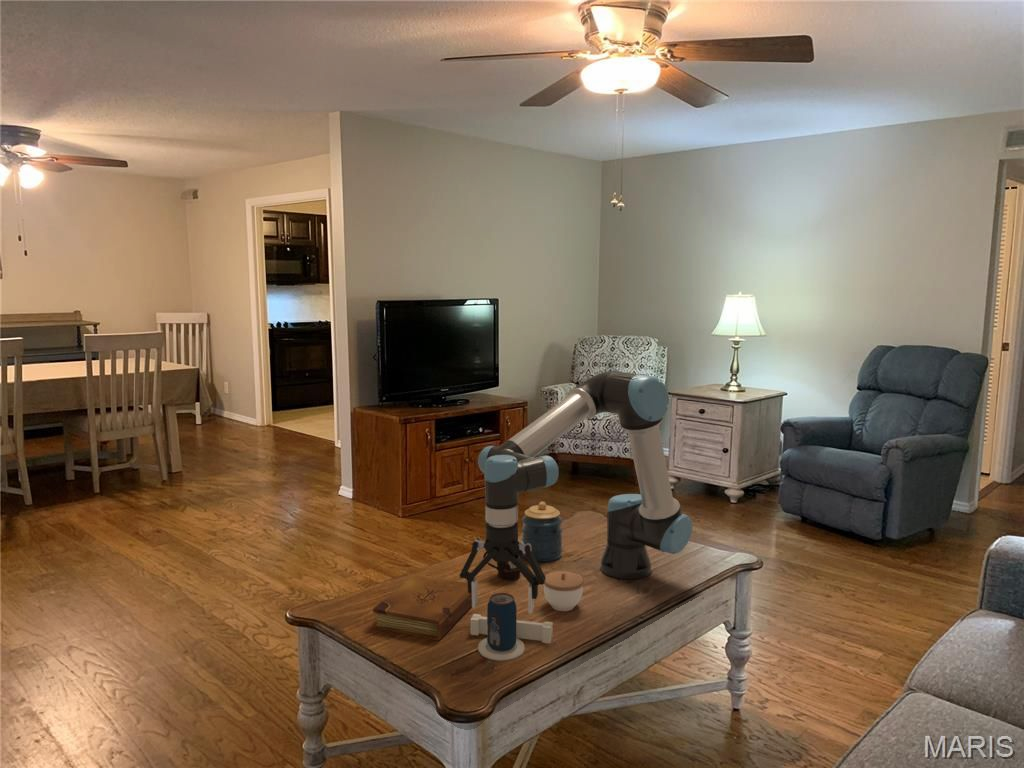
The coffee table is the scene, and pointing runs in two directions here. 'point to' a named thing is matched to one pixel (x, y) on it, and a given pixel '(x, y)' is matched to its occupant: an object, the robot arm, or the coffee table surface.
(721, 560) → the coffee table surface
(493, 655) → the coaster
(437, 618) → the diary
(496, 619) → the soda can
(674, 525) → the robot arm
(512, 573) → the coffee mug
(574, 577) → the lidded jar
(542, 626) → the divider
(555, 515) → the canister
